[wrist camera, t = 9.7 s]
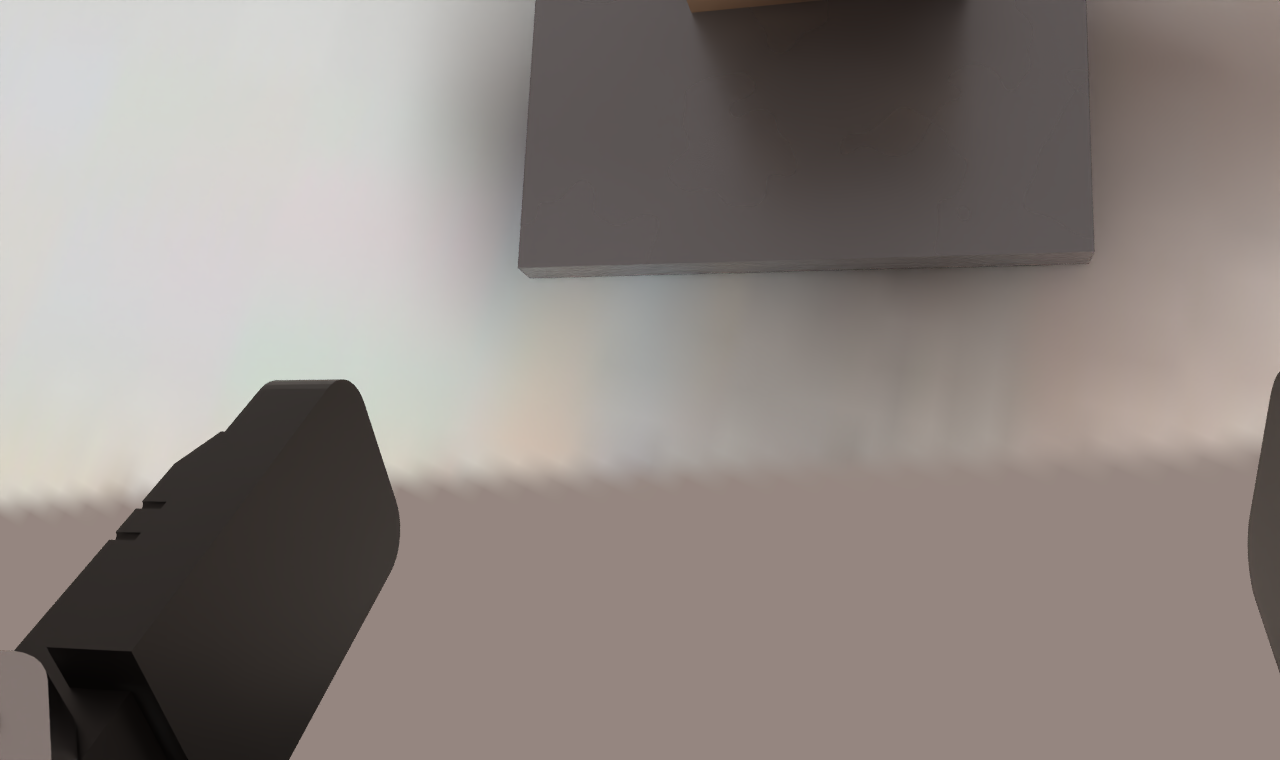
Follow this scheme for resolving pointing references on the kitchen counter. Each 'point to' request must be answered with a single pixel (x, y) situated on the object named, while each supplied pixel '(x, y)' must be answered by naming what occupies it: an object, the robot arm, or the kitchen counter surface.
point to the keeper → (806, 137)
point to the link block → (733, 4)
